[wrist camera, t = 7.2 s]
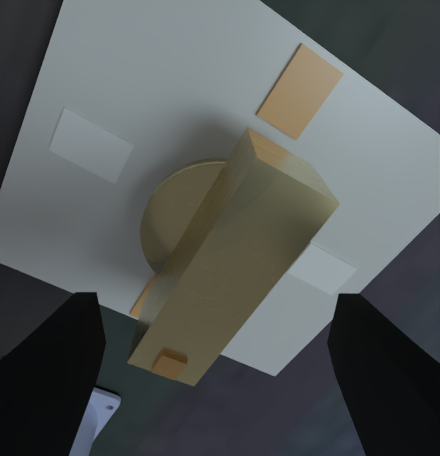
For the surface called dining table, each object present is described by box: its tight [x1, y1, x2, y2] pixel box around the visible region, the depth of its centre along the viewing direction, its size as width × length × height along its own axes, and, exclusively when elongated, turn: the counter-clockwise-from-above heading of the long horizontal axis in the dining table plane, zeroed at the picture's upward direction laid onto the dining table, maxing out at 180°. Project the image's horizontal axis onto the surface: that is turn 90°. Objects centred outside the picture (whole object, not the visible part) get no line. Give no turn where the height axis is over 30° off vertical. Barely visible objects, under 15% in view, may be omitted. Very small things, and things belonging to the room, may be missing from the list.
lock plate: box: [0, 0, 440, 376], centre depth 17 cm, size 16×18×2 cm
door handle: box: [127, 127, 340, 386], centre depth 13 cm, size 6×9×4 cm
